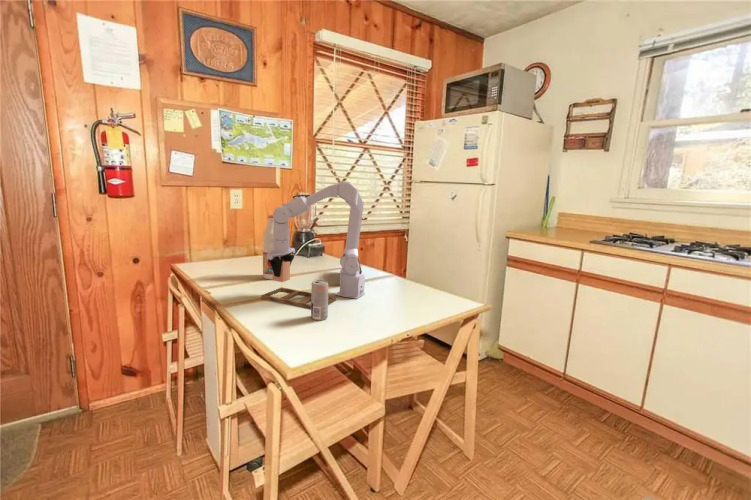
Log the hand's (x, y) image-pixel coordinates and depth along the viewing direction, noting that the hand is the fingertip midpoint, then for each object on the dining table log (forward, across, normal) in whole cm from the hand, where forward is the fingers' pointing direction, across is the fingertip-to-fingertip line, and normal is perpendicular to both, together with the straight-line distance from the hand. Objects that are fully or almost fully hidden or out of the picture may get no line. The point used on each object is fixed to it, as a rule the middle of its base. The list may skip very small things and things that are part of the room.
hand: (281, 274), depth 137 cm
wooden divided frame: (+8, 0, +8) cm, 12 cm away
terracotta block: (+2, 0, 0) cm, 2 cm away
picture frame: (+9, -37, +11) cm, 40 cm away
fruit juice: (+8, -20, -19) cm, 29 cm away
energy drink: (+8, +12, +24) cm, 28 cm away
